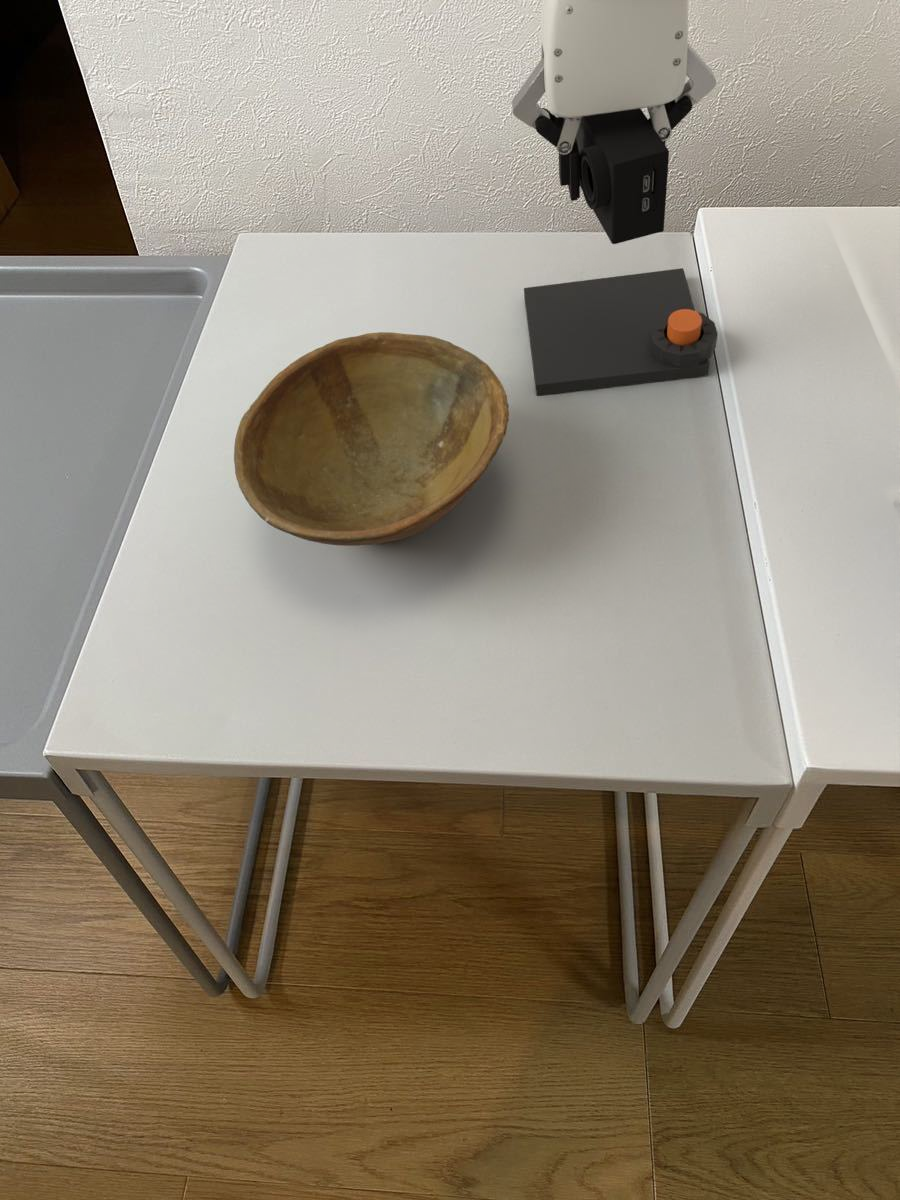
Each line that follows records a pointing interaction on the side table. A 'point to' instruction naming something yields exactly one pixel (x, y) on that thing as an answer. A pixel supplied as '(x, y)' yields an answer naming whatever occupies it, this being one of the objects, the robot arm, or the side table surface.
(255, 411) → the bowl
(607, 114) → the digital camera
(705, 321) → the scale
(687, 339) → the button
